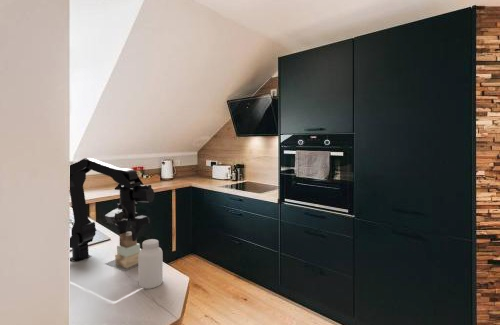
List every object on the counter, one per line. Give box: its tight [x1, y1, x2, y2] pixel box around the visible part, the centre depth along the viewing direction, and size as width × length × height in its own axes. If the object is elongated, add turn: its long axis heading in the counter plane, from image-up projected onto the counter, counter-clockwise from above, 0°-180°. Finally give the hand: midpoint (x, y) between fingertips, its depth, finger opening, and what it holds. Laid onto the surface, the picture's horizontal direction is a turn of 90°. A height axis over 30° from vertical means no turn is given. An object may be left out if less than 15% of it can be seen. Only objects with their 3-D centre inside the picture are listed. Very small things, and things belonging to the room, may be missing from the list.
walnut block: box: [118, 231, 138, 247], centre depth 110 cm, size 4×4×4 cm
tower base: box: [114, 253, 139, 268], centre depth 111 cm, size 7×7×4 cm
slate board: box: [104, 259, 138, 272], centre depth 111 cm, size 13×10×1 cm
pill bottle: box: [137, 238, 164, 290], centre depth 95 cm, size 8×8×15 cm
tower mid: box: [116, 242, 141, 257], centre depth 111 cm, size 6×6×4 cm
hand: (128, 239), depth 110 cm, fingers open, 7 cm apart
